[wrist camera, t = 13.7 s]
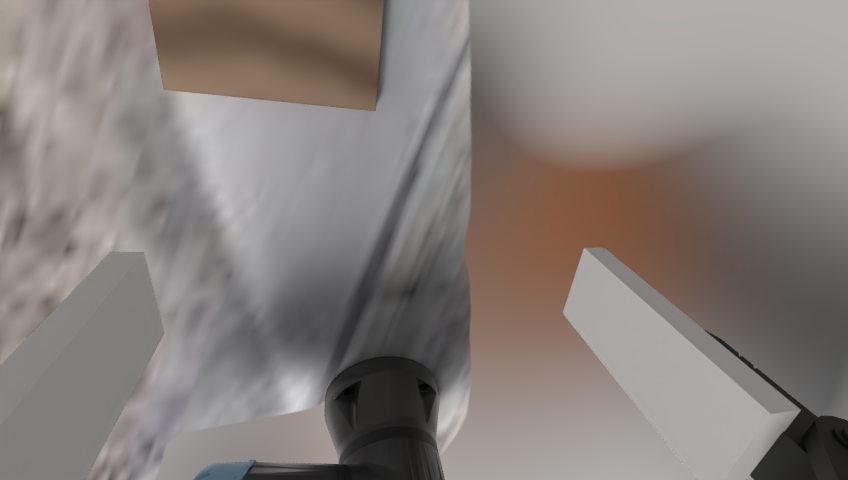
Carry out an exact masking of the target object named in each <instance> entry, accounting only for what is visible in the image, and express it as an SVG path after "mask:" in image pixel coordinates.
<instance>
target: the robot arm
mask: <svg viewBox="0 0 848 480" xmlns="http://www.w3.org/2000/svg"><path fill="white" fill-rule="evenodd" d="M563 314H564V315H565V317H566V318H567V319H568V320H569V321H570V323H571V324H572V325H573V327H574V328H575V329H576V330H577V332H578V333H579V334H580V335H581V337H582V338H583V339H584V340H585V342H586V343H587V344H588V345H589V347H590V348H591V349H592V350H593V352H594V353H595V354H596V355H597V357H598V358H599V359H600V360H601V362H602V363H603V364H604V365H605V367H606V368H607V369H608V371H609V372H610V373H611V374H612V376H613V377H614V378H615V379H616V381H617V382H618V383H619V384H620V386H621V387H622V388H623V389H624V391H625V392H626V393H627V394H628V396H629V397H630V398H631V399H632V401H633V402H634V403H635V404H636V406H637V407H638V408H639V409H640V411H641V412H642V413H643V414H644V416H645V417H646V418H647V419H648V421H649V422H650V423H651V424H652V426H653V427H654V428H655V429H656V431H657V432H658V433H659V434H660V436H661V437H662V438H663V440H664V441H665V442H666V443H667V445H668V446H669V447H670V448H671V450H672V451H673V452H674V453H675V454H676V456H677V457H678V458H679V460H680V461H681V462H682V463H683V465H684V466H685V467H686V468H687V470H688V471H689V472H690V473H691V475H692V476H693V477H694V478H695V480H747V479H748V478H749V476H751V477H752V478H753V479H754V480H848V421H847V420H845V419H841V418H837V417H833V416H820V417H819V418H818V417H817V416H816V415H814V414H813V413H812V412H810V411H809V410H808V409H807V408H805V407H804V406H803V405H802V404H800V403H799V402H798V401H797V400H795V399H794V398H793V397H792V396H791V395H789V394H788V393H787V392H786V391H784V390H783V389H782V388H781V387H779V386H778V385H777V384H776V383H774V382H773V381H772V380H771V379H770V378H768V377H767V376H766V375H765V374H763V373H762V372H761V371H760V370H758V369H754V368H753V365H752V364H751V363H750V362H748V361H747V360H746V359H745V358H744V357H742V356H739V355H738V352H736V351H735V350H734V349H732V348H731V347H730V346H729V345H728V344H726V343H725V342H724V341H722V340H721V339H720V338H718V337H716V336H715V335H713V334H711V333H709V332H707V331H706V330H704V329H702V328H701V327H700V326H698V325H697V324H696V323H695V322H693V321H692V320H691V319H690V318H689V317H688V316H686V315H685V314H684V313H683V312H681V311H680V310H679V309H678V308H677V307H675V306H674V305H673V304H672V303H671V302H669V301H668V300H667V299H666V298H664V297H663V296H662V295H661V294H660V293H658V292H657V291H656V290H654V289H653V288H652V287H651V286H650V285H649V284H647V283H646V282H645V281H644V280H643V279H641V278H640V277H639V276H638V275H636V274H635V273H634V272H633V271H632V270H630V269H629V268H628V267H627V266H626V265H624V264H623V263H622V262H621V261H620V260H618V259H617V258H616V257H615V256H613V255H612V254H611V253H610V252H609V251H607V250H606V249H605V248H584V250H583V253H582V256H581V259H580V262H579V265H578V268H577V271H576V274H575V277H574V280H573V283H572V287H571V290H570V293H569V296H568V299H567V302H566V305H565V308H564V311H563ZM163 335H164V329H163V325H162V321H161V317H160V313H159V309H158V305H157V301H156V297H155V294H154V290H153V286H152V282H151V278H150V274H149V270H148V266H147V262H146V258H145V254H144V252H110V253H109V254H108V255H107V257H106V258H105V259H104V260H103V261H102V262H101V263H100V264H99V265H98V266H97V267H96V268H95V269H94V270H93V271H92V272H91V273H90V274H89V275H88V276H87V277H86V278H85V279H84V280H83V281H82V282H81V283H80V284H79V285H78V286H77V287H76V288H75V289H74V290H73V291H72V293H71V294H70V295H69V296H68V297H67V298H66V299H65V300H64V301H63V302H62V303H61V304H60V305H59V306H58V307H57V308H56V309H55V310H54V311H53V312H52V313H51V314H50V315H49V316H48V317H47V318H46V319H45V320H44V321H43V322H42V323H41V324H40V325H39V326H38V327H37V329H36V330H35V331H34V332H33V333H32V334H31V335H30V336H29V337H28V338H27V339H26V340H25V341H24V342H23V343H22V344H21V345H20V346H19V347H18V348H17V349H16V350H15V351H14V352H13V353H12V354H11V355H10V356H9V357H8V358H7V359H6V360H5V361H4V362H3V363H2V365H1V366H0V480H85V479H86V477H87V475H88V473H89V471H90V469H91V468H92V466H93V464H94V462H95V460H96V458H97V457H98V455H99V453H100V451H101V449H102V447H103V446H104V444H105V442H106V440H107V438H108V436H109V434H110V433H111V431H112V429H113V427H114V425H115V423H116V422H117V420H118V418H119V416H120V414H121V412H122V411H123V409H124V407H125V405H126V403H127V401H128V399H129V398H130V396H131V394H132V392H133V390H134V388H135V387H136V385H137V383H138V381H139V379H140V377H141V376H142V374H143V372H144V370H145V368H146V366H147V365H148V363H149V361H150V359H151V357H152V355H153V353H154V352H155V350H156V348H157V346H158V344H159V342H160V341H161V339H162V337H163ZM438 412H439V394H438V390H437V386H436V382H435V379H434V377H433V375H432V374H431V373H430V371H429V370H428V369H426V368H425V367H424V366H422V365H421V364H419V363H417V362H414V361H411V360H408V359H403V358H394V357H387V358H377V359H372V360H368V361H365V362H362V363H359V364H357V365H355V366H352V367H351V368H349V369H347V370H346V371H344V372H343V373H341V374H340V375H339V376H338V377H337V378H336V379H335V380H334V381H333V382H332V384H331V385H330V387H329V388H328V390H327V393H326V396H325V422H326V425H327V428H328V431H329V433H330V436H331V439H332V441H333V444H334V447H335V450H336V453H337V455H338V458H339V464H313V463H271V462H270V463H269V462H256V460H250V461H249V462H234V463H233V462H232V463H216V464H212V465H209V466H207V467H206V468H204V469H203V470H202V471H201V472H200V473H199V474H198V475H197V476H196V477H195V478H194V480H445V478H444V474H443V470H442V465H441V461H440V457H439V453H438V449H437V444H436V432H437V422H438Z"/></svg>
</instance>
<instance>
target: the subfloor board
mask: <svg viewBox="0 0 848 480" xmlns="http://www.w3.org/2000/svg"><path fill="white" fill-rule="evenodd" d="M149 6H150V12H151V18H152V24H153V30H154V36H155V42H156V48H157V53H158V59H159V65H160V71H161V77H162V83H163V89H164V90H173V91H183V92H192V93H202V94H212V95H222V96H232V97H242V98H252V99H262V100H271V101H281V102H291V103H301V104H311V105H321V106H331V107H340V108H350V109H360V110H370V111H375V110H376V97H377V84H378V71H379V58H380V45H381V32H382V19H383V6H384V0H149Z"/></svg>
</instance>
